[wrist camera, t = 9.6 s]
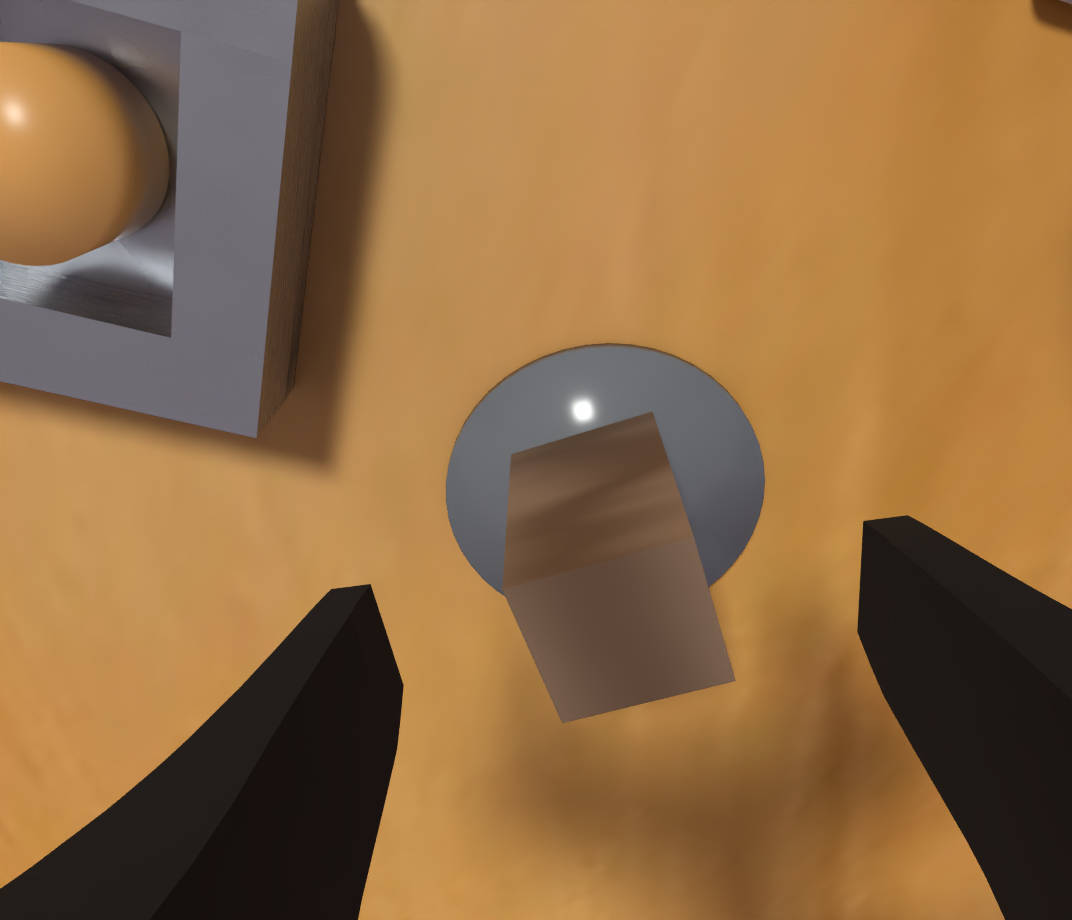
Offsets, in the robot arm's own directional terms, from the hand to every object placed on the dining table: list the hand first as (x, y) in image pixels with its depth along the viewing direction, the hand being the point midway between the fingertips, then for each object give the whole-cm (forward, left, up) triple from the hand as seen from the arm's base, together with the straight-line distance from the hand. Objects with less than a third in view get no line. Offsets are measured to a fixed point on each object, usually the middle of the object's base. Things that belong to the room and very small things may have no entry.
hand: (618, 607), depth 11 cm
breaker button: (+12, -2, -9) cm, 16 cm away
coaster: (-2, +4, -10) cm, 11 cm away
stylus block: (-1, +3, -10) cm, 10 cm away
